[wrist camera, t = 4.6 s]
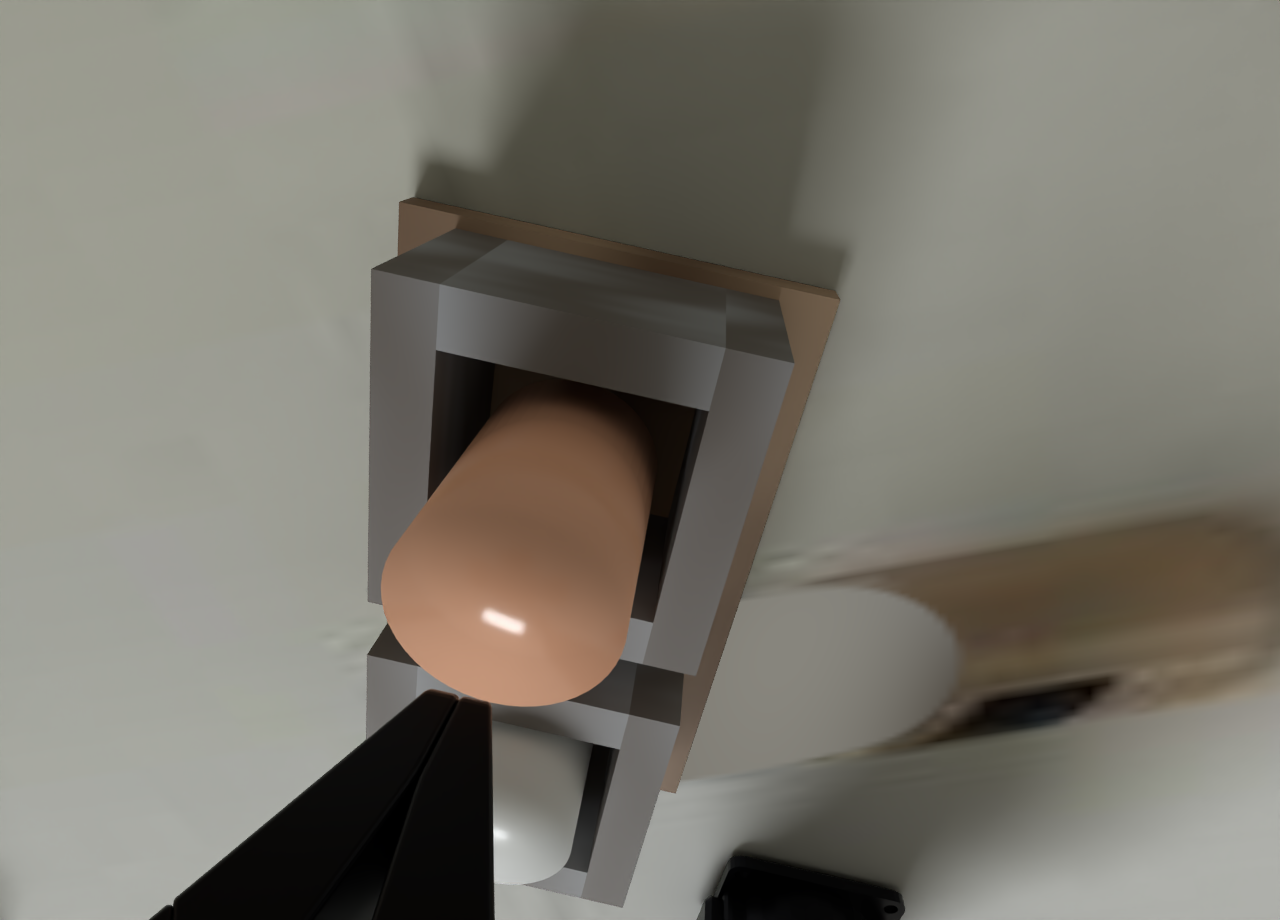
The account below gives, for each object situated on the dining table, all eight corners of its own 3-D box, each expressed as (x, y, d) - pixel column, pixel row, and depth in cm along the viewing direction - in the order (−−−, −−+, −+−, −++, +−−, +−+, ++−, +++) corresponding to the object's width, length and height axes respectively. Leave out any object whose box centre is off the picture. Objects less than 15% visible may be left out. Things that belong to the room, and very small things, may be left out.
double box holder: (835, 291, 16) (875, 364, 12) (677, 773, 24) (665, 924, 20) (413, 197, 16) (296, 234, 12) (394, 708, 24) (320, 844, 20)
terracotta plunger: (674, 402, 14) (650, 540, 10) (639, 553, 16) (604, 729, 12) (490, 360, 14) (382, 480, 10) (475, 516, 16) (378, 677, 12)
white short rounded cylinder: (613, 650, 20) (582, 803, 16) (593, 739, 22) (559, 898, 18) (486, 621, 20) (420, 765, 16) (475, 712, 22) (413, 864, 18)
